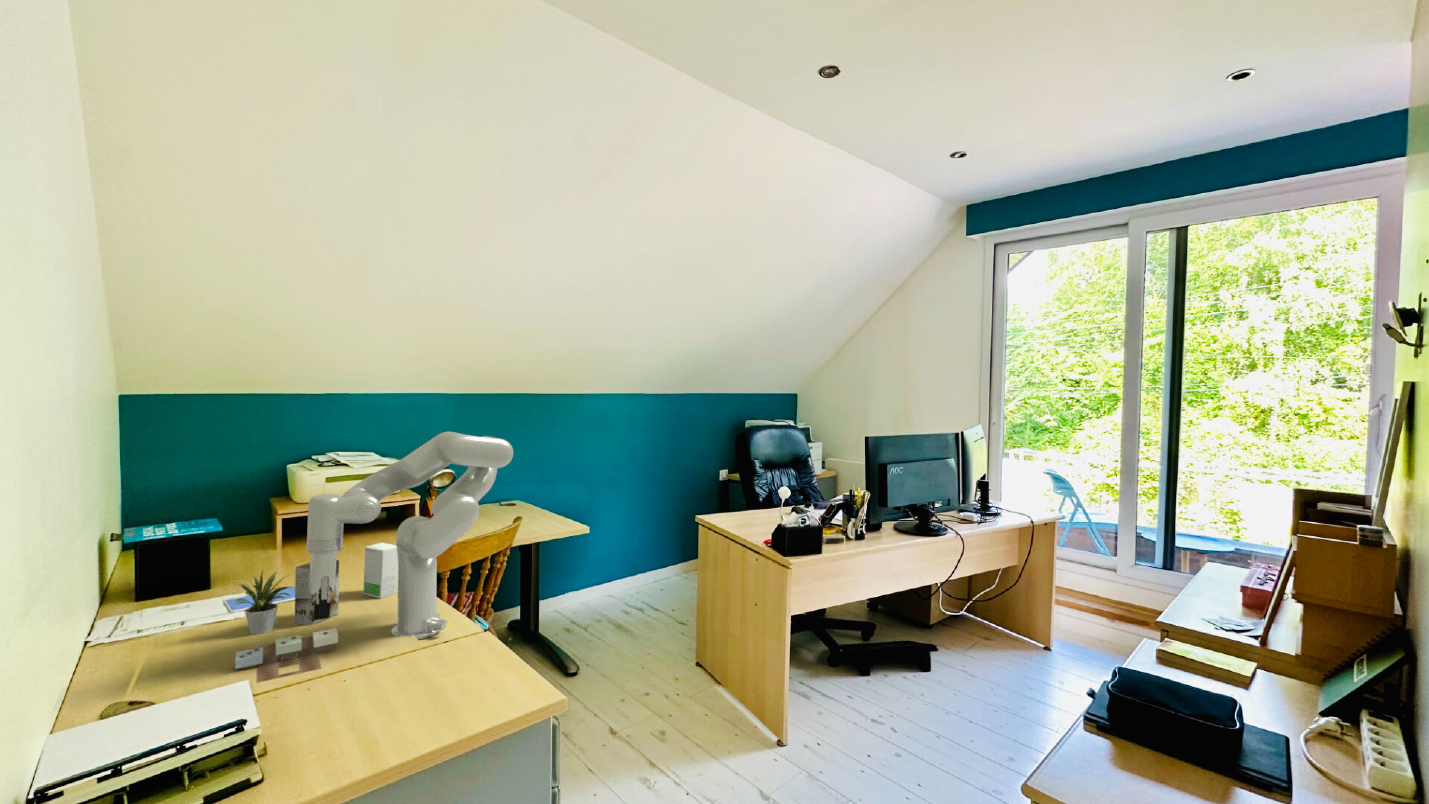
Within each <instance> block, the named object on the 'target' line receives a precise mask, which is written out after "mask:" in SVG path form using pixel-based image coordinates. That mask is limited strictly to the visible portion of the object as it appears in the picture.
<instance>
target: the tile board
mask: <svg viewBox="0 0 1429 804" xmlns="http://www.w3.org/2000/svg"><path fill="white" fill-rule="evenodd" d="M301 642H302V650H300V651H296V654H298V658H297V657H296V658H293V659H288V660H283V661H279V657H281V654H280V655H276V642H274V643H271V644H269V643H268V644H264V645H260V646H257V648H261V647H263V663H261V664H257V666H256V683H261V682H267V681H271V680H275V679H280V678H284V677H288V676H289V677H290V676H294V675H298V674H303V673H307V672H311V671H317V670H321V669H322V665H321V660H320V653H318V647H315V648H314V644H313V635H312V636H307V637H306V636H305V637H301ZM297 665H299V670H296V671H291V672H285V673H282V674H279V673H280V671H279V669H282V668H287V667H291V666H297Z"/></svg>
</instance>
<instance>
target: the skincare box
mask: <svg viewBox="0 0 1429 804" xmlns="http://www.w3.org/2000/svg"><path fill="white" fill-rule="evenodd" d="M363 571H364V572H363V596H364V595H365V596H369V597H373V598H376V599H377V598H378V599H384V598H386V597H389V596H392V595H395V594H398V554H397V546H396V545H395V544H392V543H385V542H378V543H375V544H371V545H367V546H365V549H364V569H363Z"/></svg>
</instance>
